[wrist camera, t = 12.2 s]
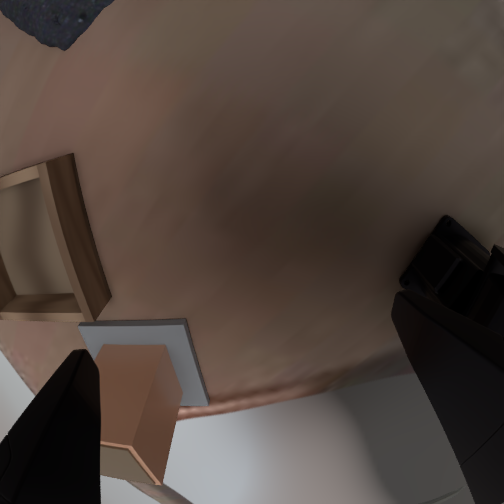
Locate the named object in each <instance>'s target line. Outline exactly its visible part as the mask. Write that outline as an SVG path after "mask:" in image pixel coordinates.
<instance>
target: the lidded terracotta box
mask: <svg viewBox="0 0 504 504" xmlns="http://www.w3.org/2000/svg"><path fill="white" fill-rule="evenodd" d="M94 362H95V363H96V365H97V367H98V369H99V373H100V402H101V445H100V475H103V476H107V477H112V478H117V479H122V480H128V481H133V482H140V483H146V484H153V485H155V484H156V485H162V484H163V479H164V474H165V469H166V465H167V460H168V455H169V451H170V447H171V442H172V438H173V433H174V429H175V425H176V420H177V416H178V412H179V407H180V403H181V399H182V395H183V391H182V389H181V386H180V383H179V381H178V378H177V375H176V373H175V370H174V367H173V365H172V362H171V359H170V356H169V353H168V350H167V348H166V345H116V344H103V346H102V348H101V349H100V351H99V353H98V355H97V356H96V358H95V360H94Z"/></svg>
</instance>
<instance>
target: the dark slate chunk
mask: <svg viewBox="0 0 504 504" xmlns="http://www.w3.org/2000/svg"><path fill="white" fill-rule="evenodd" d="M113 1H114V0H0V10H1V11H2V13H3V15H5V16H6V17H7V18H9V19H10V20H11V21H12V22H14V24H15V25H16V26H17V27H18V28H19V29H20V30H22V31H25V32H26V33H27V34H29V35H31V36H35V37H36V39H37V40H38V41H39V42H40V43H41V44H45V45H47V46H49V47H55V46H56V47H59V48H60V49H61V50H64V51H65V50H66V49H68V48H69V47H70V46H71V45H72V44H73V43H74V42H75V40H76V39H77V38H78V37H79V36H80V35H81V34H83V33H84V32H85V31H86V30H87V29H88V27H89V26H90V25H91V24H92V22H93V21H94V19H95V18H96V17H97V16H98V15H99V13H100V12H101V11H102V10H103V9H104V8H105V7H107V6H108V5H110V4H111V3H112V2H113Z"/></svg>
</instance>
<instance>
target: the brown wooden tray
mask: <svg viewBox="0 0 504 504" xmlns="http://www.w3.org/2000/svg"><path fill="white" fill-rule="evenodd" d="M111 297H112V296H111V293H110V290H109V288H108V285H107V282H106V279H105V275H104V272H103V269H102V266H101V263H100V260H99V256H98V253H97V250H96V246H95V243H94V239H93V236H92V232H91V229H90V225H89V221H88V217H87V213H86V209H85V205H84V201H83V197H82V193H81V188H80V184H79V179H78V175H77V170H76V165H75V160H74V154H73V153H72V154H68V155H65V156H62V157H58V158H55V159H52V160H49V161H46V162H42V163H39V164H36V165H33V166H30V167H27V168H24V169H22V170H19V171H16V172H13V173H10V174H8V175H5V176H2V177H0V320H19V321H51V322H95V320H96V319H97V317H98V316H99V314H100V313H101V311H102V310H103V308H104V307H105V306H106V304H107V303H108V301H109V300H110V298H111Z"/></svg>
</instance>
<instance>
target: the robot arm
mask: <svg viewBox="0 0 504 504" xmlns="http://www.w3.org/2000/svg"><path fill="white" fill-rule="evenodd" d="M448 220H449V223H448V224H447V225H446V222H447V221H448ZM491 253H492V254H491V256H490V253H489V251H488V250H486V249H485V248H484V247H483V246H482V245H481V244H480V243H479V242H478V241H477V240H476V239H475V238H474V237H473V236H472V235H471V234H470V233H469V232H467V231H466V230H465V229H464V228H463V227H462V226H461V225H460V224H459V223H457V222H456V221H455V220H454V219H453V218H452V217H450V216H448V215H446V216H444V217H443V218H442V219H441V221H440V222H439V224H438V225H437V227H436V228H435V230H434V231H433V233H432V234H431V236H430V237H429V238H428V240H427V241H426V243H425V244H424V246H423V247H422V248H421V250H420V251H419V253H418V254H417V255H416V257H415V258H414V260H413V261H412V263H411V264H410V266H409V267H408V268H407V270H406V271H405V272H404V274H403V275H402V276H401V278H400V280H399V283H400V285H401V286H402V287H403V288H404V289H406V290H403V291H399V292H397V293H396V295H395V299H394V303H393V308H392V312H391V317H392V321H393V323H394V325H395V328H396V330H397V332H398V335H399V337H400V340H401V342H402V344H403V347H404V349H405V352H406V354H407V357H408V359H409V361H410V363H411V365H412V367H413V369H414V371H415V373H416V374H417V376H418V378H419V380H420V382H421V384H422V386H423V388H424V390H425V392H426V394H427V396H428V398H429V400H430V402H431V404H432V406H433V408H434V410H435V412H436V414H437V416H438V418H439V420H440V423H441V425H442V427H443V429H444V431H445V433H446V435H447V438H448V440H449V442H450V444H451V446H452V449H453V451H454V453H455V455H456V458H457V460H458V462H459V465H460V467H461V470H462V472H463V474H464V477H465V479H466V482H467V484H468V487H469V489H470V492H471V494H472V497H473V499H474V502H475V504H502V503H503V502H504V248H502V247H500V246H497V245H495V244H494V246H493V248H492V250H491ZM406 280H408V281H407V282H406V283H404V282H405V281H406ZM100 445H101V402H100V373H99V369H98V367H97V365H96V363H95V362H94V360H93V358H92V357H91V355H90V353H89V352H88V351H87V350H86V349H78V350H73V351H72V352H71V353H70V354H69V356H68V357H67V358H66V359H65V360H64V362H63V363H62V364H61V365H60V366H59V368H58V369H57V370H56V371H55V373H54V374H53V375H52V376H51V377H50V379H49V380H48V381H47V382H46V384H45V385H44V386H43V387H42V389H41V390H40V391H39V392H38V394H37V395H36V396H35V398H34V399H33V400H32V401H31V403H30V404H29V405H28V407H27V408H26V409H25V411H24V412H23V413H22V415H21V416H20V417H19V418H18V420H17V421H16V423H15V424H14V425H13V426H12V428H11V429H10V431H9V432H8V435H6V436H5V437H4V439H3V440H2V441H1V443H0V504H101V494H100V493H101V492H100Z"/></svg>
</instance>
